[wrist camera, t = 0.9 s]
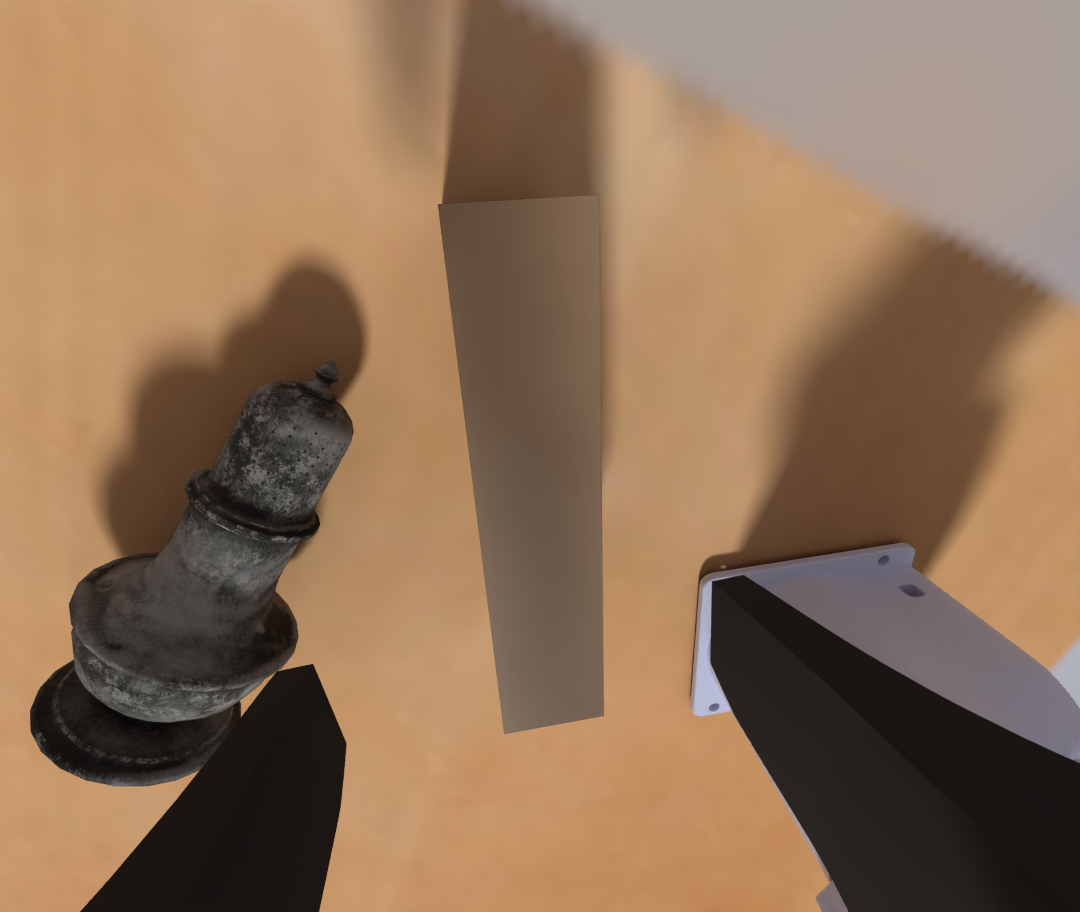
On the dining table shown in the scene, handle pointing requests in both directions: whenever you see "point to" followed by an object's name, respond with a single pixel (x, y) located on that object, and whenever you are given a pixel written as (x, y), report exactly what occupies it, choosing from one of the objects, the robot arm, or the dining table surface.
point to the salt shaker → (196, 602)
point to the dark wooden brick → (534, 442)
